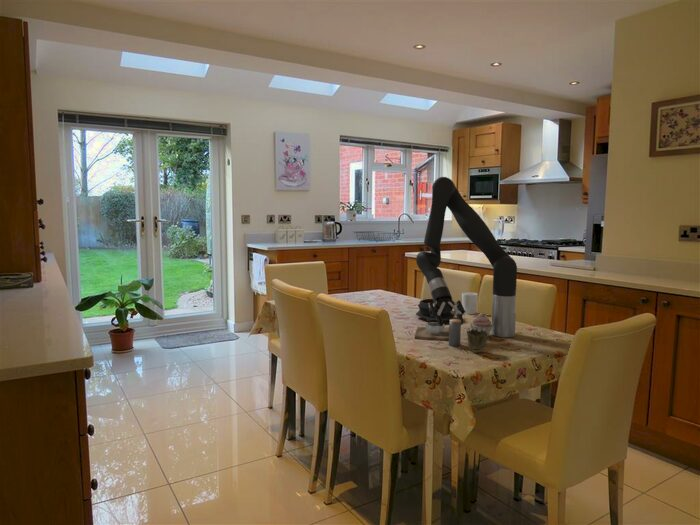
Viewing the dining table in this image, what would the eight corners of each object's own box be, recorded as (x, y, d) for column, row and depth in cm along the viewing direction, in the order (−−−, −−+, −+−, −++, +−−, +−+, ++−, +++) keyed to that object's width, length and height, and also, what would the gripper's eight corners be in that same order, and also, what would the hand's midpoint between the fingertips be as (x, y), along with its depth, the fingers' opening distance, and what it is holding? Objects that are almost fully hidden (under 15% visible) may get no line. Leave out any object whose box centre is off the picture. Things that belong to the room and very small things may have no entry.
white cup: (458, 312, 248) (458, 293, 247) (470, 310, 252) (471, 291, 250) (468, 315, 241) (468, 295, 240) (480, 313, 244) (481, 294, 243)
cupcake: (482, 340, 196) (483, 316, 195) (465, 335, 204) (465, 312, 203) (497, 336, 201) (498, 313, 200) (480, 332, 209) (480, 309, 208)
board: (454, 331, 211) (454, 328, 211) (454, 340, 195) (454, 338, 195) (417, 329, 214) (417, 326, 214) (414, 338, 198) (414, 336, 198)
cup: (464, 353, 178) (464, 332, 177) (469, 348, 185) (469, 328, 184) (484, 356, 175) (485, 334, 174) (488, 351, 181) (489, 330, 180)
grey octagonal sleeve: (444, 330, 207) (444, 322, 207) (444, 335, 200) (444, 327, 200) (426, 329, 209) (426, 321, 209) (425, 334, 202) (425, 326, 201)
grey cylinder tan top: (460, 343, 191) (460, 319, 190) (460, 347, 187) (461, 321, 186) (448, 343, 192) (449, 318, 191) (448, 346, 188) (449, 321, 186)
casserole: (462, 324, 223) (462, 306, 222) (422, 325, 222) (423, 307, 221) (446, 312, 248) (446, 296, 247) (410, 313, 246) (411, 297, 245)
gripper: (426, 286, 195) (438, 320, 186) (458, 285, 199) (471, 318, 190) (421, 297, 201) (432, 330, 191) (451, 295, 205) (464, 328, 195)
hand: (452, 324), depth 191 cm, fingers open, 8 cm apart
